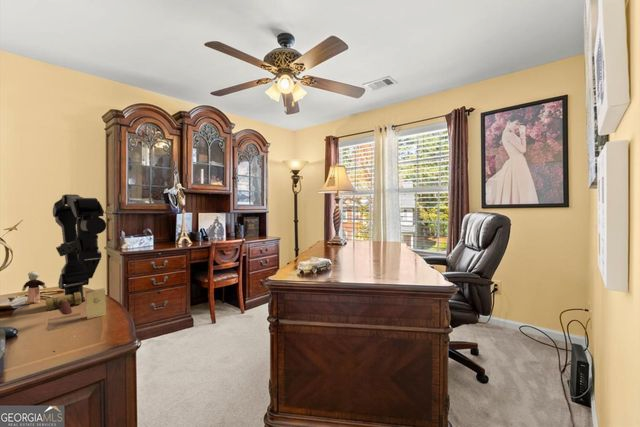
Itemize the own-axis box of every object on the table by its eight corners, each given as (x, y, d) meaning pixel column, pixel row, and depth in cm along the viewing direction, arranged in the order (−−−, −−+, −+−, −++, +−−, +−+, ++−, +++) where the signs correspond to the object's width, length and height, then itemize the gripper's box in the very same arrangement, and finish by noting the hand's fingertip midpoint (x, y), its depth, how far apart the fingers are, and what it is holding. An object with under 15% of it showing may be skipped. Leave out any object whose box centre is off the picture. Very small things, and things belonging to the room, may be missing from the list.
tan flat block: (48, 323, 96) (47, 319, 96) (81, 317, 102) (81, 312, 102) (46, 336, 87) (46, 331, 87) (83, 328, 92) (82, 323, 92)
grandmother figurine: (19, 305, 115) (18, 273, 115) (23, 303, 118) (21, 271, 118) (46, 302, 119) (44, 271, 118) (48, 299, 122) (47, 269, 122)
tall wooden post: (86, 320, 98) (85, 291, 98) (105, 316, 102) (104, 288, 101) (87, 323, 96) (86, 293, 95) (106, 319, 99) (105, 290, 99)
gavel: (87, 307, 103) (48, 316, 96) (87, 320, 103) (49, 329, 96) (79, 290, 117) (45, 296, 110) (80, 301, 118) (46, 308, 111)
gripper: (57, 233, 107) (59, 276, 108) (57, 236, 93) (59, 285, 94) (95, 231, 115) (97, 271, 115) (100, 233, 101) (102, 279, 101)
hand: (89, 276), depth 106 cm, fingers open, 9 cm apart
